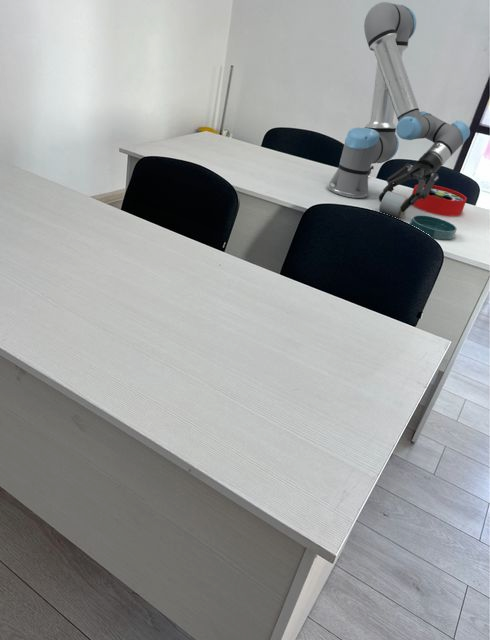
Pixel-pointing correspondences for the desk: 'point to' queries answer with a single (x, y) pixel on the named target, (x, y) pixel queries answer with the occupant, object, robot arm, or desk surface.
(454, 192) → the toy clock
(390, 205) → the grey cylinder
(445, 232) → the bowl
